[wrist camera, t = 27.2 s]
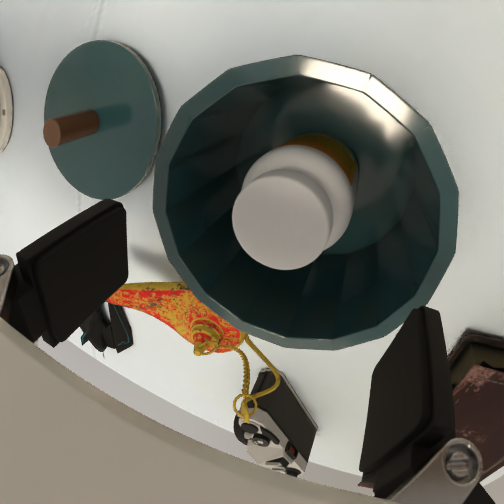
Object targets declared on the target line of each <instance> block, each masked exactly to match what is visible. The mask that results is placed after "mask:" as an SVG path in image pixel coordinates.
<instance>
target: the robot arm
mask: <svg viewBox="0 0 504 504" xmlns="http://www.w3.org/2000/svg"><path fill="white" fill-rule="evenodd" d="M12 111H13V108H12V96H11V90H10V85H9V82H8V79H7V76H6V74H5V72H4V71H3V70H2V68H1V67H0V152H2V151H3V150H4V148H5V147H6V145H7V143H8V140H9V137H10V133H11V127H12ZM16 256H17V260H18V264H17V265H14V262H13V259H12V258H11V257H10V256H7V255H0V504H495V502H494V501H493V500H492V498H491V497H490V496H489V495H488V493H487V492H486V491H485V489H484V488H483V487H482V485H481V484H480V483H479V482H478V481H479V480H480V477H481V475H482V471H483V460H482V457H481V454H480V452H479V450H478V449H477V447H476V446H475V445H474V444H473V443H472V442H470V441H469V440H466V439H464V438H456V431H455V414H454V402H453V391H452V382H451V374H450V366H449V363H448V358H447V351H446V345H445V339H444V333H443V327H442V322H441V317H440V313H439V311H437V310H434V309H431V308H428V307H426V306H423V305H422V306H420V307H419V308H418V309H416V308H414V309H413V310H412V311H411V312H410V314H409V316H408V317H407V319H406V321H405V322H404V324H403V325H402V327H401V329H400V330H399V332H398V333H397V335H396V337H395V338H394V340H393V341H392V343H391V344H390V346H389V347H388V349H387V350H386V352H385V353H384V355H383V356H382V358H381V359H380V361H379V362H378V364H377V365H376V367H375V369H374V371H373V374H372V380H371V389H370V398H369V407H368V414H367V422H366V429H365V435H364V442H363V448H362V454H361V459H360V465H359V470H360V472H363V477H362V482H365V483H371V484H374V488H373V492H374V494H373V495H372V496H368V495H363V494H360V493H355V492H351V491H346V490H342V489H338V488H333V487H329V486H326V485H322V484H318V483H314V482H311V481H307V480H304V479H300V478H297V477H294V476H290V475H287V474H283V473H281V472H277V471H274V470H271V469H268V468H265V467H262V466H259V465H256V464H254V463H251V462H248V461H245V460H242V459H240V458H237V457H235V456H232V455H229V454H227V453H224V452H222V451H219V450H217V449H214V448H212V447H210V446H208V445H205V444H203V443H200V442H198V441H196V440H194V439H192V438H189V437H187V436H185V435H183V434H181V433H179V432H176V431H174V430H172V429H170V428H168V427H166V426H164V425H162V424H160V423H158V422H156V421H154V420H152V419H150V418H148V417H147V416H145V415H143V414H141V413H139V412H137V411H135V410H134V409H132V408H130V407H128V406H127V405H125V404H123V403H121V402H119V401H118V400H116V399H115V398H113V397H111V396H109V395H108V394H106V393H105V392H103V391H101V390H100V389H98V388H96V387H95V386H93V385H92V384H90V383H89V382H87V381H85V380H84V379H82V378H81V377H79V376H78V375H76V374H75V373H73V372H72V371H70V370H69V369H67V368H66V367H64V366H63V365H62V364H60V363H59V362H57V361H56V360H55V359H53V358H52V357H51V356H49V355H48V354H46V353H45V352H44V351H42V350H41V349H40V348H38V347H37V345H38V338H39V337H40V336H41V335H42V338H43V340H44V341H45V342H46V343H48V344H49V345H51V346H52V347H53V348H54V347H55V346H56V345H57V344H58V343H59V342H63V341H65V340H66V339H67V338H68V337H69V336H70V335H71V334H72V333H73V332H74V331H75V330H76V329H77V328H78V327H79V326H80V325H81V324H82V323H83V322H84V321H85V320H86V319H88V318H89V317H90V316H91V315H92V314H93V313H94V312H95V311H96V310H97V309H98V308H99V307H100V306H101V305H102V304H103V303H104V302H105V301H106V300H107V299H109V298H110V297H111V296H112V295H113V294H114V293H115V292H116V291H117V290H118V289H119V288H120V287H121V286H122V285H124V283H125V282H126V281H127V278H128V256H127V227H126V210H125V209H124V207H123V204H122V203H120V202H117V201H114V200H111V199H104V200H102V201H100V202H98V203H97V204H95V205H93V206H91V207H90V208H88V209H86V210H84V211H83V212H81V213H79V214H78V215H76V216H74V217H73V218H71V219H69V220H68V221H66V222H64V223H63V224H61V225H59V226H58V227H56V228H55V229H53V230H51V231H50V232H48V233H47V234H45V235H43V236H42V237H40V238H39V239H37V240H36V241H34V242H33V243H31V244H30V245H28V246H27V247H25V248H24V249H22V250H21V251H19V252H18V253H16Z"/></svg>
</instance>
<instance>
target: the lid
mask: <svg viewBox="0 0 504 504" xmlns="http://www.w3.org/2000/svg"><path fill="white" fill-rule="evenodd" d="M43 135H44V139H45V142H46V143H47V145H48V146H49V149H50V152H51V155H52V157H53V160H54V162H55V163H56V165H57V167H58V169H59V170H60V172H61V174H62V175H63V176H64V177H65V179H66V180H67V181H68V182H69V183H70V184H71V185H72V186H73V187H74V188H76V189H77V190H78V191H80V192H81V193H83V194H84V195H87V196H89V197H91V198H95V199H101V200H104V199H115V198H119V197H121V196H123V195H125V194H127V193H129V192H130V191H132V190H133V189H134V188H136V187H137V186H138V185H139V184H140V183H141V182H142V181H143V179H144V178H145V177H146V175H147V174H148V172H149V170H150V168H151V166H152V165H153V162H154V159H155V157H156V154H157V150H158V146H159V142H160V135H161V107H160V101H159V96H158V92H157V89H156V85H155V83H154V80H153V78H152V75H151V73H150V72H149V70H148V68H147V67H146V65H145V64H144V62H143V61H142V60H141V58H140V57H139V56H138V55H137V54H136V53H134V52H133V51H132V50H131V49H129V48H128V47H126V46H125V45H122V44H120V43H118V42H114V41H108V40H96V41H91V42H88V43H85V44H82V45H80V46H79V47H77V48H75V49H74V50H73V51H71V52H70V53H69V54H68V55H67V56H66V57H65V58H64V59H63V60H62V62H61V63H60V64H59V66H58V67H57V69H56V71H55V73H54V75H53V77H52V79H51V81H50V84H49V87H48V91H47V95H46V100H45V109H44V128H43Z"/></svg>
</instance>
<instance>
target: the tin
mask: <svg viewBox="0 0 504 504" xmlns="http://www.w3.org/2000/svg"><path fill="white" fill-rule="evenodd" d="M309 132H323V133H327V134H330V135H333V136H335V137H337V138H339V139H340V140H342V141H343V142H344V143H345V144H346V145H347V146H348V147H349V148H350V150H351V151H352V153H353V154H354V156H355V158H356V161H357V164H358V169H359V182H358V187H357V193H356V197H355V202H354V207H353V212H352V216H351V219H350V222H349V224H348V227H347V229H346V230H345V232H344V234H343V235H342V236H341V237H340V239H339V240H338V241H337V242H336V243H334V244H333V245H332V246H330V247H329V248H327V249H326V250H323V251H322V253H321V254H320V255H319V256H318V257H317V258H316V259H315V260H314V261H312V262H311V263H309V264H308V265H306V266H304V267H301V268H297V269H292V270H280V269H274V268H271V267H268V266H265V265H263V264H261V263H259V262H258V261H256V260H255V259H253V258H252V257H251V256H250V255H249V254H248V253H247V252H246V251H245V250H244V249H243V248H242V246H241V245H240V243H239V241H238V240H237V237H236V235H235V232H234V229H233V223H232V212H233V206H234V204H235V201H236V199H237V197H238V195H239V193H240V192H241V191H242V186H243V182H244V179H245V177H246V175H247V173H248V171H249V169H250V168H251V167H252V165H253V164H254V163H255V162H256V161H257V160H258V159H259V158H260V157H262V156H263V155H264V154H266V153H268V152H269V151H271V150H273V149H275V148H276V147H278V146H280V145H282V144H284V143H286V142H288V141H289V140H291V139H293V138H295V137H297V136H299V135H301V134H305V133H309ZM458 200H459V191H458V187H457V184H456V182H455V179H454V177H453V174H452V172H451V169H450V167H449V164H448V162H447V159H446V157H445V155H444V152H443V150H442V148H441V146H440V143H439V141H438V139H437V137H436V135H435V132H434V130H433V128H432V126H431V125H430V124H429V122H428V121H427V120H426V119H425V118H424V117H422V116H421V115H420V114H419V113H418V112H417V111H416V110H415V109H414V108H413V107H411V106H410V105H409V104H408V103H407V102H406V101H405V100H404V99H402V98H401V97H400V96H399V95H398V94H396V93H395V92H394V91H393V90H392V89H390V88H389V87H388V86H387V85H386V84H384V83H383V82H382V81H381V80H379V79H378V78H377V77H376V76H374V75H371V73H368V72H365V71H362V70H358V69H355V68H351V67H348V66H344V65H340V64H337V63H333V62H329V61H325V60H320V59H316V58H312V57H307V56H303V55H292V56H286V57H280V58H275V59H270V60H265V61H260V62H256V63H251V64H247V65H243V66H238V67H234V68H230V69H229V70H227V71H225V72H224V73H223V74H221V75H220V76H219V77H217V78H216V79H215V80H213V81H212V82H211V83H210V84H208V85H207V86H206V87H204V88H203V89H202V90H201V91H199V92H198V93H197V94H196V95H194V96H193V97H192V98H191V99H189V100H188V101H187V102H186V103H185V104H183V105H182V106H181V108H180V109H179V111H178V113H177V114H176V116H175V118H174V120H173V122H172V124H171V126H170V128H169V130H168V132H167V134H166V136H165V138H164V140H163V142H162V144H161V146H160V149H159V151H158V153H157V155H156V158H155V169H154V186H153V213H154V217H155V220H156V223H157V226H158V230H159V233H160V236H161V239H162V242H163V245H164V248H165V251H166V254H167V257H168V260H169V261H170V263H171V264H172V265H173V267H174V268H175V270H176V271H177V272H178V274H179V275H180V277H181V278H182V279H183V281H184V282H185V284H186V285H187V286H188V288H189V289H190V290H191V292H192V293H193V294H194V296H195V297H196V298H197V299H198V300H199V301H200V302H201V303H203V304H204V305H205V306H207V307H208V308H209V309H210V310H212V311H213V312H214V313H216V314H217V315H218V316H220V317H221V318H222V319H224V320H225V321H226V322H228V323H229V324H230V325H232V326H233V327H234V328H236V329H238V330H239V331H242V332H244V333H247V334H250V335H252V336H255V337H257V338H260V339H263V340H265V341H268V342H271V343H274V344H276V345H279V346H282V347H286V348H297V349H314V350H339V349H343V348H347V347H351V346H354V345H358V344H361V343H365V342H368V341H372V340H375V339H379V338H382V337H384V336H386V335H388V334H389V333H390V332H392V331H393V330H394V329H396V328H397V327H399V326H400V325H401V324H403V323H404V322H405V321H406V319H407V317H408V316H409V314H410V312H411V311H412V310H413V309H414V308H416V309H418V308H419V307H420V306H422V305H423V306H426V304H428V302H429V300H430V299H431V297H432V295H433V294H434V292H435V290H436V288H437V287H438V285H439V283H440V281H441V279H442V278H443V276H444V274H445V272H446V270H447V268H448V266H449V265H450V263H451V261H452V259H453V257H454V254H455V250H456V239H457V224H458Z"/></svg>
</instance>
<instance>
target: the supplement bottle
mask: <svg viewBox="0 0 504 504" xmlns="http://www.w3.org/2000/svg"><path fill="white" fill-rule="evenodd" d="M358 182H359V169H358V164H357V161H356V158H355V156H354V154H353V153H352V151H351V150H350V148H349V147H348V146H347V145H346V144H345V143H344V142H343V141H342V140H340V139H339V138H337V137H335V136H333V135H330V134H327V133H323V132H309V133H305V134H301V135H299V136H297V137H295V138H293V139H291V140H289V141H288V142H286V143H284V144H282V145H280V146H278V147H276V148H275V149H273V150H271V151H269V152H268V153H266V154H264V155H263V156H262V157H260V158H259V159H258V160H257V161H256V162H255V163H254V164H253V165H252V167H251V168H250V169H249V171H248V173H247V175H246V177H245V179H244V182H243V186H242V191H241V192H240V193H239V195H238V197H237V199H236V201H235V204H234V206H233V212H232V223H233V229H234V232H235V235H236V237H237V240H238V241H239V243H240V245H241V246H242V248H243V249H244V250H245V251H246V252H247V253H248V254H249V255H250V256H251V257H252V258H253V259H255V260H256V261H258V262H259V263H261V264H263V265H265V266H268V267H271V268H274V269H280V270H292V269H297V268H301V267H304V266H306V265H308V264H309V263H311V262H312V261H314V260H315V259H316V258H317V257H318V256H319V255H320V254H321V253H322V251H323V250H326V249H327V248H329V247H330V246H332V245H333V244H334V243H336V242H337V241H338V240H339V239H340V237H341V236H342V235H343V234H344V232H345V230H346V229H347V227H348V224H349V222H350V219H351V216H352V212H353V207H354V202H355V197H356V193H357V187H358Z"/></svg>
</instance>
